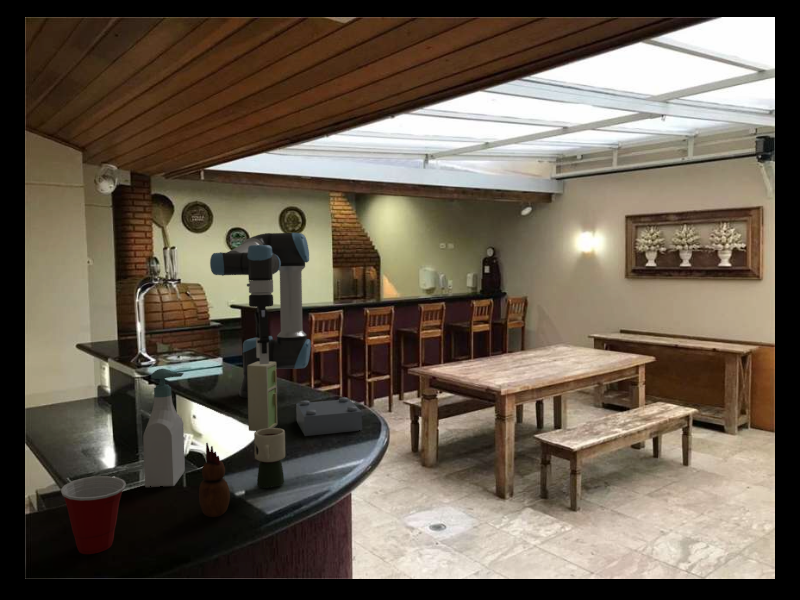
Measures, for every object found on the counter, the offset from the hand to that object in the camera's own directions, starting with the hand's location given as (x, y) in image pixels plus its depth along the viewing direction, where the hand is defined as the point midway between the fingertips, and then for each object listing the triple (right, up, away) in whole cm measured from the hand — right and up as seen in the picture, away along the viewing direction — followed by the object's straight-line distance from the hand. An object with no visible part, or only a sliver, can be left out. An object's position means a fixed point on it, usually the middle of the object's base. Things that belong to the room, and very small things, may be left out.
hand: (262, 360), depth 188 cm
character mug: (+13, -25, -47) cm, 55 cm away
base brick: (+20, -22, +4) cm, 30 cm away
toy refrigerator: (0, -22, +2) cm, 22 cm away
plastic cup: (-13, -27, -77) cm, 83 cm away
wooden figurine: (+5, -26, -63) cm, 68 cm away
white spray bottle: (-13, -25, -42) cm, 51 cm away
